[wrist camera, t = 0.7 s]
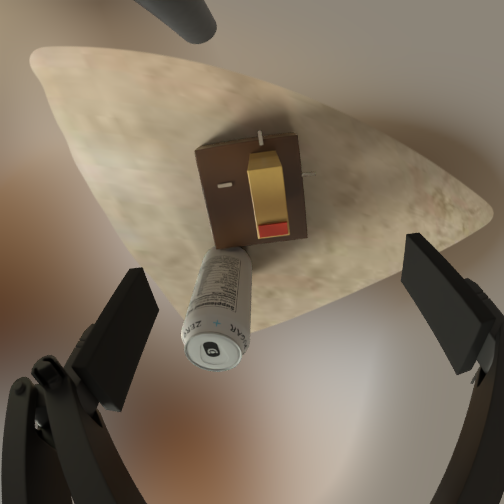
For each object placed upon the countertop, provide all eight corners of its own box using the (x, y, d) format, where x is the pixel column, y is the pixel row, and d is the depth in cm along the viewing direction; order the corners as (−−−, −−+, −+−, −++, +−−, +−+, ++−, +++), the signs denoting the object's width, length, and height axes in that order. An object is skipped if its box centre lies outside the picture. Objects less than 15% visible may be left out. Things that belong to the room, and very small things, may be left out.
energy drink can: (209, 284, 38) (189, 376, 25) (198, 243, 35) (167, 330, 22) (255, 279, 37) (254, 373, 24) (247, 236, 34) (242, 324, 21)
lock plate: (198, 138, 29) (192, 142, 26) (305, 123, 28) (310, 125, 25) (219, 237, 35) (215, 250, 32) (315, 225, 34) (320, 237, 31)
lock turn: (249, 153, 27) (247, 171, 20) (275, 150, 27) (282, 166, 20) (258, 206, 29) (258, 240, 23) (282, 203, 29) (290, 236, 22)
